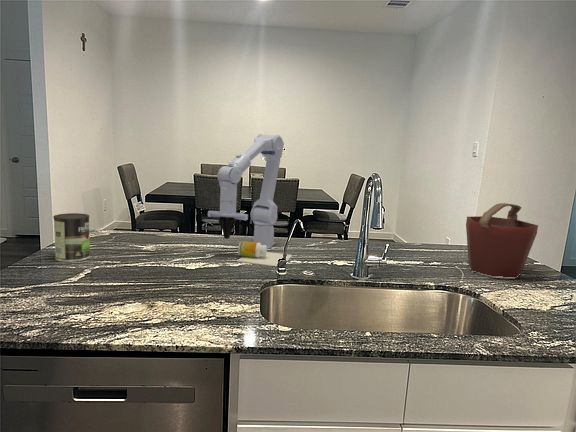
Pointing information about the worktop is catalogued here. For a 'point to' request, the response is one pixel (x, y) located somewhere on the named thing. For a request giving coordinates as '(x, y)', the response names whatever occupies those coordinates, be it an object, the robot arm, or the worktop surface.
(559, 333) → the worktop surface
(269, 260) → the mat
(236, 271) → the worktop surface
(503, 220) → the bucket
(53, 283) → the worktop surface
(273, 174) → the robot arm
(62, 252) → the coffee can
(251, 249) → the supplement bottle
